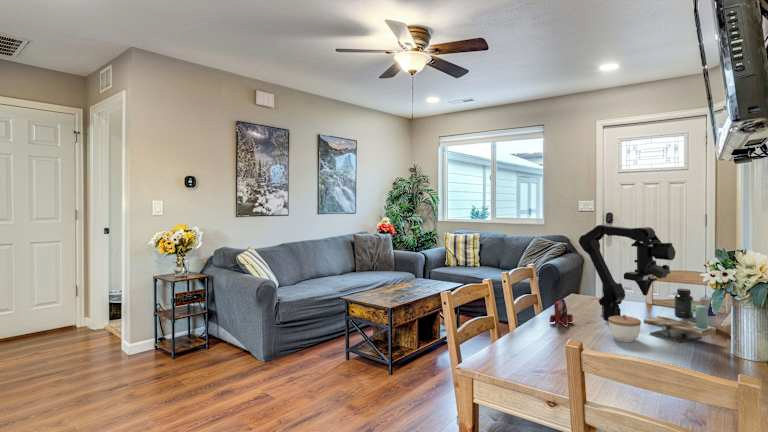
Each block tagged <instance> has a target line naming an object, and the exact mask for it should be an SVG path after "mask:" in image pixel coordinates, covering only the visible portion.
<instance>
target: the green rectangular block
mask: <svg viewBox="0 0 768 432" xmlns="http://www.w3.org/2000/svg"><path fill="white" fill-rule="evenodd" d="M695 324H696V326H695V327H692V329H693V330H698V331H702V332H703V331H707V330H710V329H712V327H709V326H708V307H706V306H700V305H699V304H698V305H697V304H696V305H695Z"/></svg>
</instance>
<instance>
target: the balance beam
mask: <svg viewBox="0 0 768 432" xmlns="http://www.w3.org/2000/svg"><path fill="white" fill-rule="evenodd" d="M664 323H665V324H669V325H670V330H674V331H678V332H683V333H687V334H691V335H695V336H699V337H701V338H703V337H706V336H710V335H713V334H716V333H717V330H716V329H717V327H716V328H713V327H712V329H710V330H707V331H703V332H702V331H698V330H693V329H692V327H695V326H696V322H695V323H694V322H691V321H688V322H685V321H681V319H675V318H671V317H666V316H662V315H657V316H656V317H654V318H653V317H652V318H649V319H648V318H643V324H646V325H649V326H655V327H659V328H662V327H663V324H664Z"/></svg>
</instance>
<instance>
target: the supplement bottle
mask: <svg viewBox="0 0 768 432" xmlns="http://www.w3.org/2000/svg"><path fill="white" fill-rule="evenodd" d="M691 295H692V293H691V289H688V288H677V290H676V295H675V296H674V316H675V317H677V318H681V319H693V318H694V297H693V296H691Z"/></svg>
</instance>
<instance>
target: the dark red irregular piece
mask: <svg viewBox="0 0 768 432" xmlns="http://www.w3.org/2000/svg"><path fill="white" fill-rule="evenodd" d="M553 305H554V306H553V307H554V314H551V315H550V316H549V323H550V322H554V321H555V324H559V323H561V322H562V323H561V324H562V325H563V324H564V325H567V324H568V323H569V322H572V321H574V318H573V314H569V313H568V307H567V303H566V301H565V299H564V298H561V299H559V300H558V301H556V302H554V304H553ZM572 323H573V322H572ZM568 325H569V324H568Z"/></svg>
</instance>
